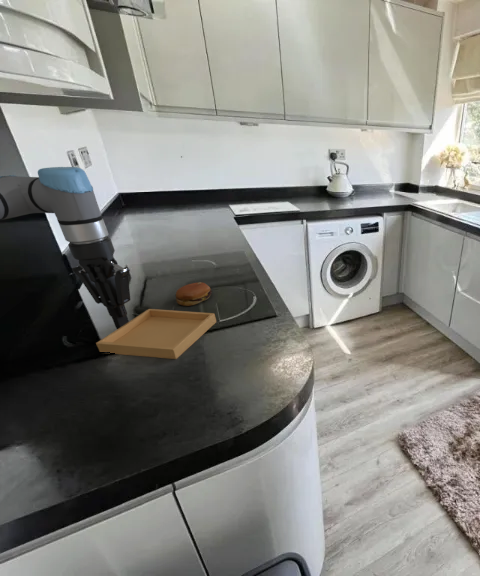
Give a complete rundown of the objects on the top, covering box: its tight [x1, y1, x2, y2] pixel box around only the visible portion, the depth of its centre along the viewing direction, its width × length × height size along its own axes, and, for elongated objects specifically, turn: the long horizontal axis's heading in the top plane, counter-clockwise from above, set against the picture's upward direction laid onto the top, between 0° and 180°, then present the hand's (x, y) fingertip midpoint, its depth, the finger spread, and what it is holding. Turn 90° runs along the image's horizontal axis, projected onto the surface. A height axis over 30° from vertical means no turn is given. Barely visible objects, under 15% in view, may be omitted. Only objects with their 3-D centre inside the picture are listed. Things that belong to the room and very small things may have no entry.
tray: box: [95, 308, 217, 360], centre depth 83 cm, size 20×17×3 cm
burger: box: [175, 281, 213, 307], centre depth 101 cm, size 10×9×5 cm
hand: (123, 326), depth 84 cm, fingers closed
